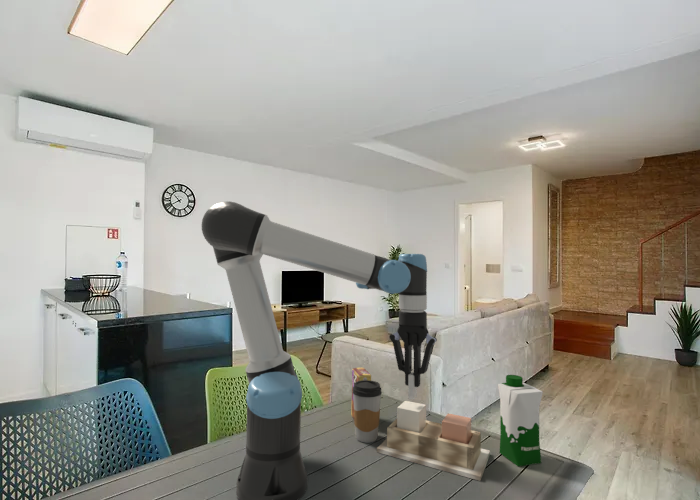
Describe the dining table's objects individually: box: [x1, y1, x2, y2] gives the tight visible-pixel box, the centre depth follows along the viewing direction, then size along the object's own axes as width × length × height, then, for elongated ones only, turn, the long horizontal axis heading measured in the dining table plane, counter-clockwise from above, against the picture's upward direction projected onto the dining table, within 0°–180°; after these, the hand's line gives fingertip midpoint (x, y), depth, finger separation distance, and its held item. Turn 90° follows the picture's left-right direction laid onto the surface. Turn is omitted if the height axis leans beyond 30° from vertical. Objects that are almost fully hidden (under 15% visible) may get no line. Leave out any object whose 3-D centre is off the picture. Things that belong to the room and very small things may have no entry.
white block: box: [396, 400, 427, 433], centre depth 102 cm, size 6×6×7 cm
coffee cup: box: [351, 380, 383, 444], centre depth 108 cm, size 8×8×15 cm
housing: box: [376, 418, 491, 482], centre depth 99 cm, size 26×14×6 cm, turn 61°
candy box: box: [350, 367, 372, 420], centre depth 120 cm, size 9×4×15 cm, turn 13°
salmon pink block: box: [441, 413, 472, 444], centre depth 96 cm, size 6×6×7 cm
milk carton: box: [497, 374, 544, 467], centre depth 98 cm, size 9×9×20 cm
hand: (412, 398), depth 102 cm, fingers closed
